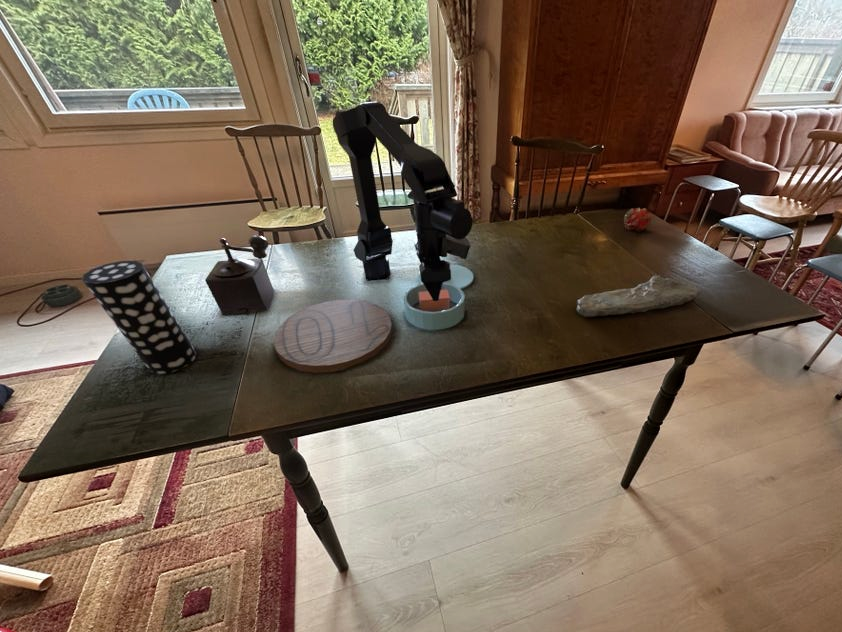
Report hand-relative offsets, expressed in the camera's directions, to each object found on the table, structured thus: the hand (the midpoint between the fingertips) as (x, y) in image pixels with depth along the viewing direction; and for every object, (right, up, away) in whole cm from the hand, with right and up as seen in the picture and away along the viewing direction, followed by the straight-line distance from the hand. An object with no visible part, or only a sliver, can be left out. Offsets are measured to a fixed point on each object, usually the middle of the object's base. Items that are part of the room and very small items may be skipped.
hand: (433, 290), depth 88 cm
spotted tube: (-52, -17, -11) cm, 56 cm away
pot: (0, -5, +4) cm, 7 cm away
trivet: (-22, -11, -3) cm, 25 cm away
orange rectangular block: (0, -5, +4) cm, 6 cm away
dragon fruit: (+68, +32, +50) cm, 91 cm away
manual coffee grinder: (-45, -2, +7) cm, 45 cm away
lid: (+1, +7, +17) cm, 19 cm away
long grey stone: (+52, -2, +10) cm, 53 cm away
